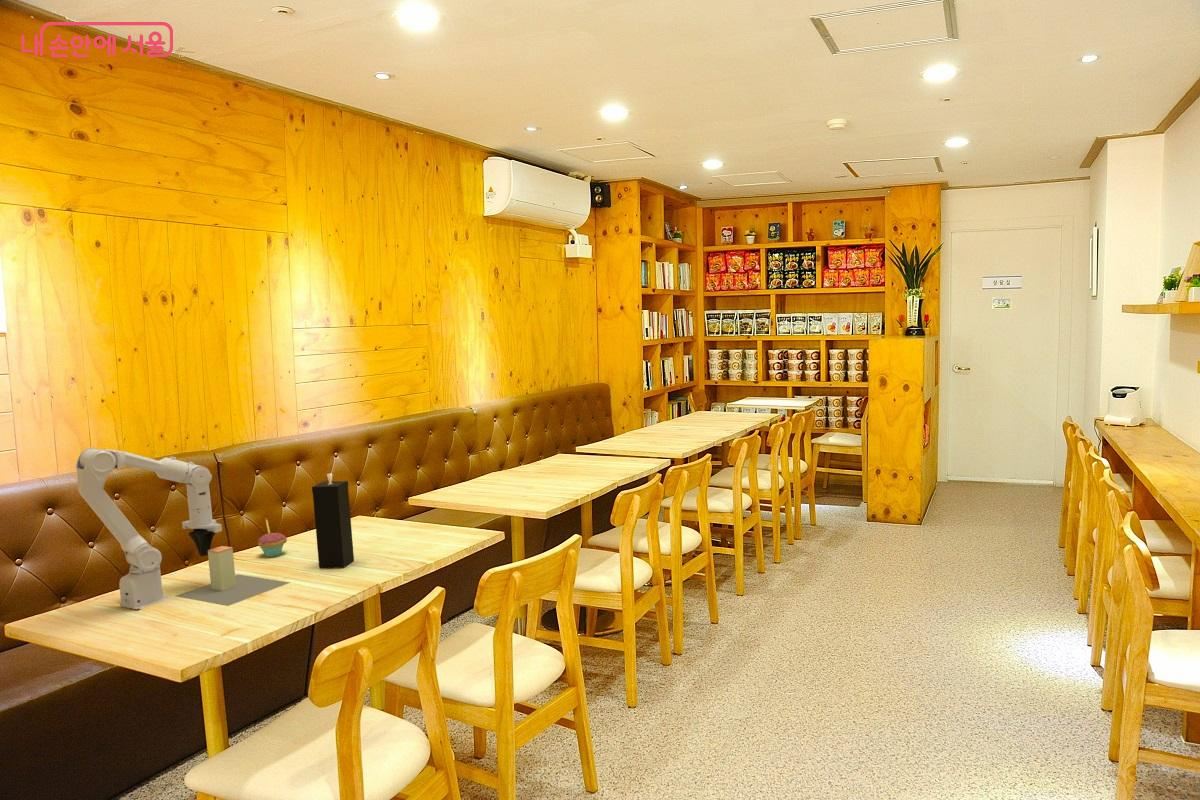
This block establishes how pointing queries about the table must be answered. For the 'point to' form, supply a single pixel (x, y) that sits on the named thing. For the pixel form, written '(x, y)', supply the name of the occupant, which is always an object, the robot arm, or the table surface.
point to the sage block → (221, 568)
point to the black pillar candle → (333, 523)
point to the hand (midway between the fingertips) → (204, 555)
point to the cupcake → (271, 543)
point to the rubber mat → (233, 590)
